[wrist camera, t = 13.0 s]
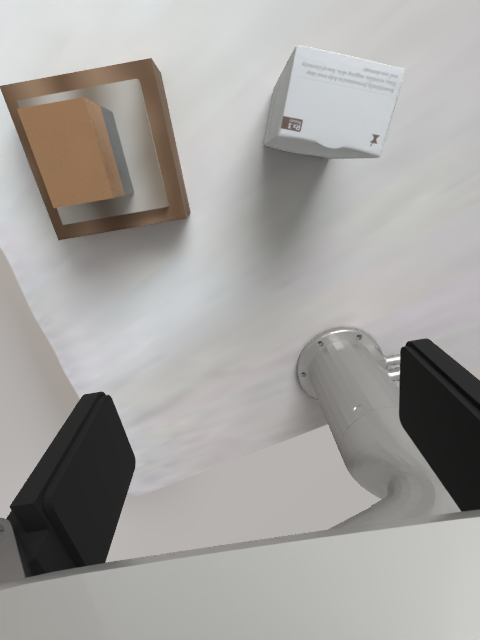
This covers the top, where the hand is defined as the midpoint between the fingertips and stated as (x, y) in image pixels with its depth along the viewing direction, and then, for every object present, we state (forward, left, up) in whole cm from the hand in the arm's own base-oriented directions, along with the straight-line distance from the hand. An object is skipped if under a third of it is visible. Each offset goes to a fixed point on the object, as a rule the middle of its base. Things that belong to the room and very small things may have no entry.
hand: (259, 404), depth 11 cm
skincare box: (-9, -10, -34) cm, 37 cm away
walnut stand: (+12, -10, -34) cm, 37 cm away
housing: (+12, -10, -28) cm, 32 cm away
